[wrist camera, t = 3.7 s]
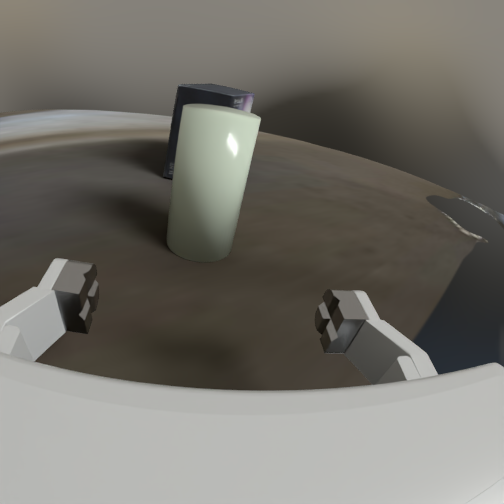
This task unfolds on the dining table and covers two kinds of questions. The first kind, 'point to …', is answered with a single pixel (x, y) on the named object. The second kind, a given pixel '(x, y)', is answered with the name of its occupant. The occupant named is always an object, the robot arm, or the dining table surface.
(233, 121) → the pale green tall cylinder
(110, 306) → the dining table surface
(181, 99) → the small box
